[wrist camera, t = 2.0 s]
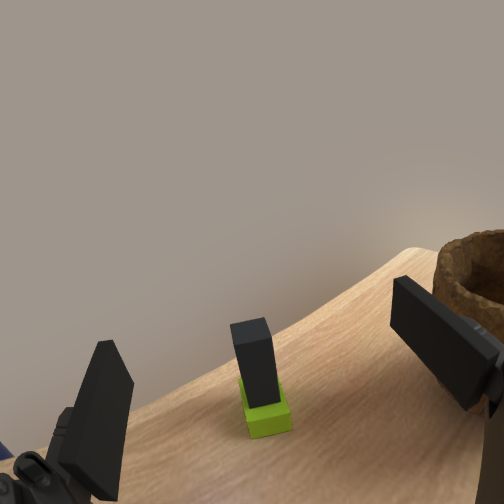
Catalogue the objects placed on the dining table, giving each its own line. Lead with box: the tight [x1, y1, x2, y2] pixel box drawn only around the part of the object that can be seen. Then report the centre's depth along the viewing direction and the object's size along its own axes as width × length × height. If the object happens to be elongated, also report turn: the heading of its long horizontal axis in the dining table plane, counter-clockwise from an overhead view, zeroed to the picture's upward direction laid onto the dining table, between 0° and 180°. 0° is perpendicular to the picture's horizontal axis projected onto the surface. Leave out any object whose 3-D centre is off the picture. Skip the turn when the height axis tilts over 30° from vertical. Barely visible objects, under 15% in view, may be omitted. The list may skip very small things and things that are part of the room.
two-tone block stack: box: [230, 317, 292, 439], centre depth 27 cm, size 6×4×11 cm, turn 9°
